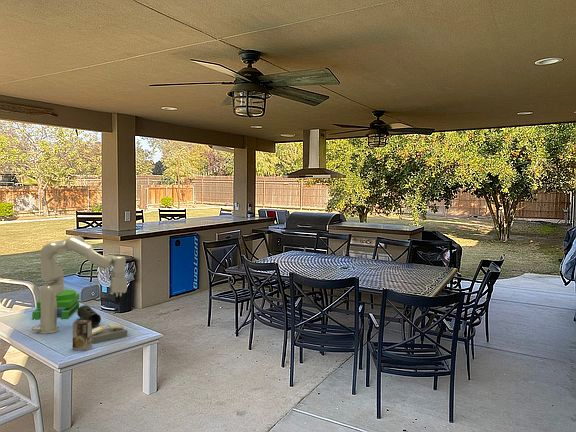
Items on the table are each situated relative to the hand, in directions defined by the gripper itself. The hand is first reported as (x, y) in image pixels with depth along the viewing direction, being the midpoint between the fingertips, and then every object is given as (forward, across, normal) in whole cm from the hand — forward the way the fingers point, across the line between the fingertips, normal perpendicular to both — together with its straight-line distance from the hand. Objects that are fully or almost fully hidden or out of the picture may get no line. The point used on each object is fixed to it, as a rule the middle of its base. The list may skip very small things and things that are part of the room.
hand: (117, 302), depth 287 cm
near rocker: (+15, -14, -4) cm, 21 cm away
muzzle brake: (+22, -4, +34) cm, 41 cm away
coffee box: (+22, -27, -14) cm, 37 cm away
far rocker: (+15, -3, -4) cm, 16 cm away
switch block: (+21, -8, -4) cm, 23 cm away
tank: (+23, -14, +69) cm, 74 cm away
